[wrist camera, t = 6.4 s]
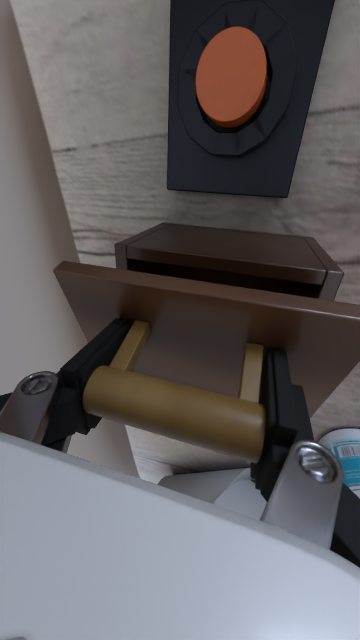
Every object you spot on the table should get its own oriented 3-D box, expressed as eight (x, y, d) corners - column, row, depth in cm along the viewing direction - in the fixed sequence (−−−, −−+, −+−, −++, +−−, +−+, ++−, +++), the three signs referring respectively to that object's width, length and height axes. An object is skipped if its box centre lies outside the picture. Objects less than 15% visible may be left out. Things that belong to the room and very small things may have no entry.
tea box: (162, 222, 22) (114, 243, 15) (313, 237, 19) (345, 272, 12) (161, 351, 30) (128, 408, 22) (270, 375, 27) (273, 449, 20)
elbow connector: (275, 447, 30) (153, 463, 40) (291, 569, 22) (134, 552, 32) (322, 498, 38) (211, 501, 48) (347, 600, 30) (208, 579, 40)
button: (205, 46, 14) (198, 28, 12) (272, 42, 13) (274, 23, 11) (200, 127, 16) (193, 121, 14) (258, 128, 15) (258, 121, 13)
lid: (62, 259, 11) (-35, 349, 8) (386, 308, 8) (453, 479, 5) (127, 408, 22) (99, 470, 19) (274, 449, 19) (271, 531, 16)
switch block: (178, -14, 15) (158, -61, 12) (340, -34, 13) (362, -94, 10) (172, 189, 21) (157, 190, 18) (285, 197, 19) (289, 200, 16)
